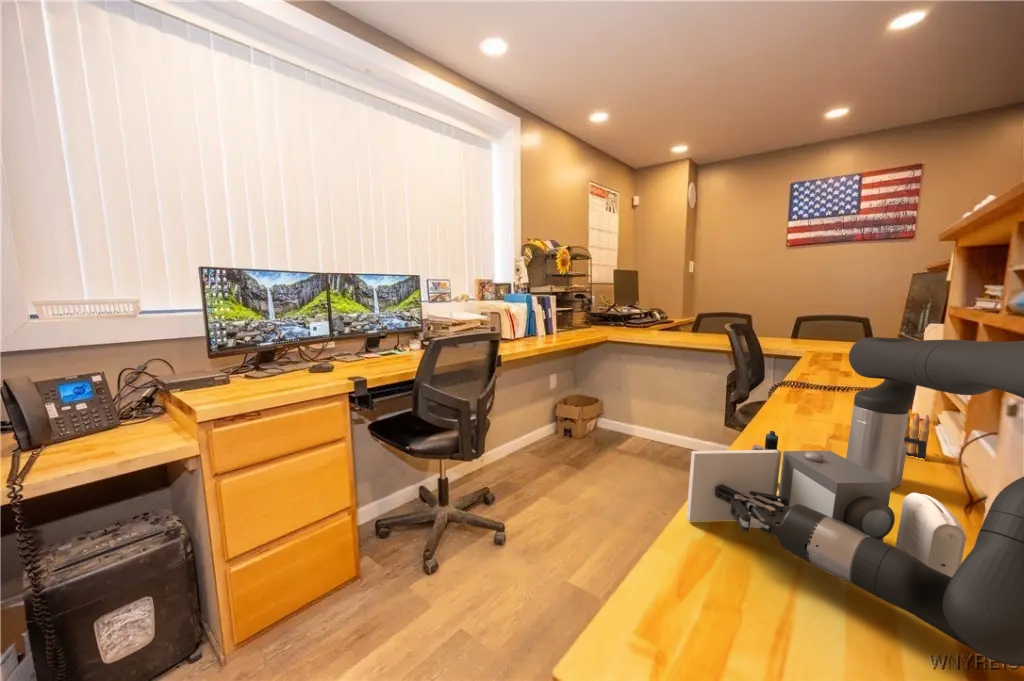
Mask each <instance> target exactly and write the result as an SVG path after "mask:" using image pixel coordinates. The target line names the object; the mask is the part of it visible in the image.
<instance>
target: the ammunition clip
mask: <svg viewBox="0 0 1024 681" xmlns="http://www.w3.org/2000/svg"><path fill="white" fill-rule="evenodd" d="M912 419H913V420H912V423H911V422H910V420H911V413H910V411H909V412H908V418H907V424H906V431H905V437H904V444H906V445H907V452H906V455H908V456H914V457H918V458H923V459H925V457H926V456H927V447H928V442H929V435H930V416H929V414H926V415H925V416H924V417H923V419H922V424H921V426H920V414H919V412H916V413H915V415H914V416H913V418H912ZM910 423H911V424H910ZM910 425H911V427H910ZM925 460H926V459H925Z"/></svg>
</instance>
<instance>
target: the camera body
mask: <svg viewBox="0 0 1024 681" xmlns="http://www.w3.org/2000/svg"><path fill="white" fill-rule="evenodd" d="M891 487H892V482H891V481H889V480H887V479H885V478H883V477H881V476H879V475H877V474H875V473H873V472H871V471H869V470H867V469H865V468H863V467H861V466H859V465H857V464H855V463H853V462H851V461H850V460H848V459H846V457H843V456H842V455H839V454H838V453H836V452H835V451H832V450H784V451H783V453H782V463H781V472H780V479H779V488H778V489H779V490H778V496H782V497H787V498H789V507H792V506H794V505H796V504H801V505H804V506H806V507H809V508H811V509H813V510H816V511H818V512H820V513H822V514H825V515H827V516H829V517H832V518H834V519H836V520H838V521H841V522H843V523H845V524H848V525H850V526H852V527H854V528H856V529H858V530H859V531H861V532H863V533H865V534H866V535H869V536H870V537H873V538H875V539H877V540H880V541H882V542H884V538H885V537H887V536H888V535H889V533H890V532H891V531H892V530H893V527H894V525H895V520H896V518H895V512H894V511H893V509H892V508H891V507H890V506H889V504H890V500H891V499H890V498H891V491H892V489H891Z"/></svg>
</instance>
